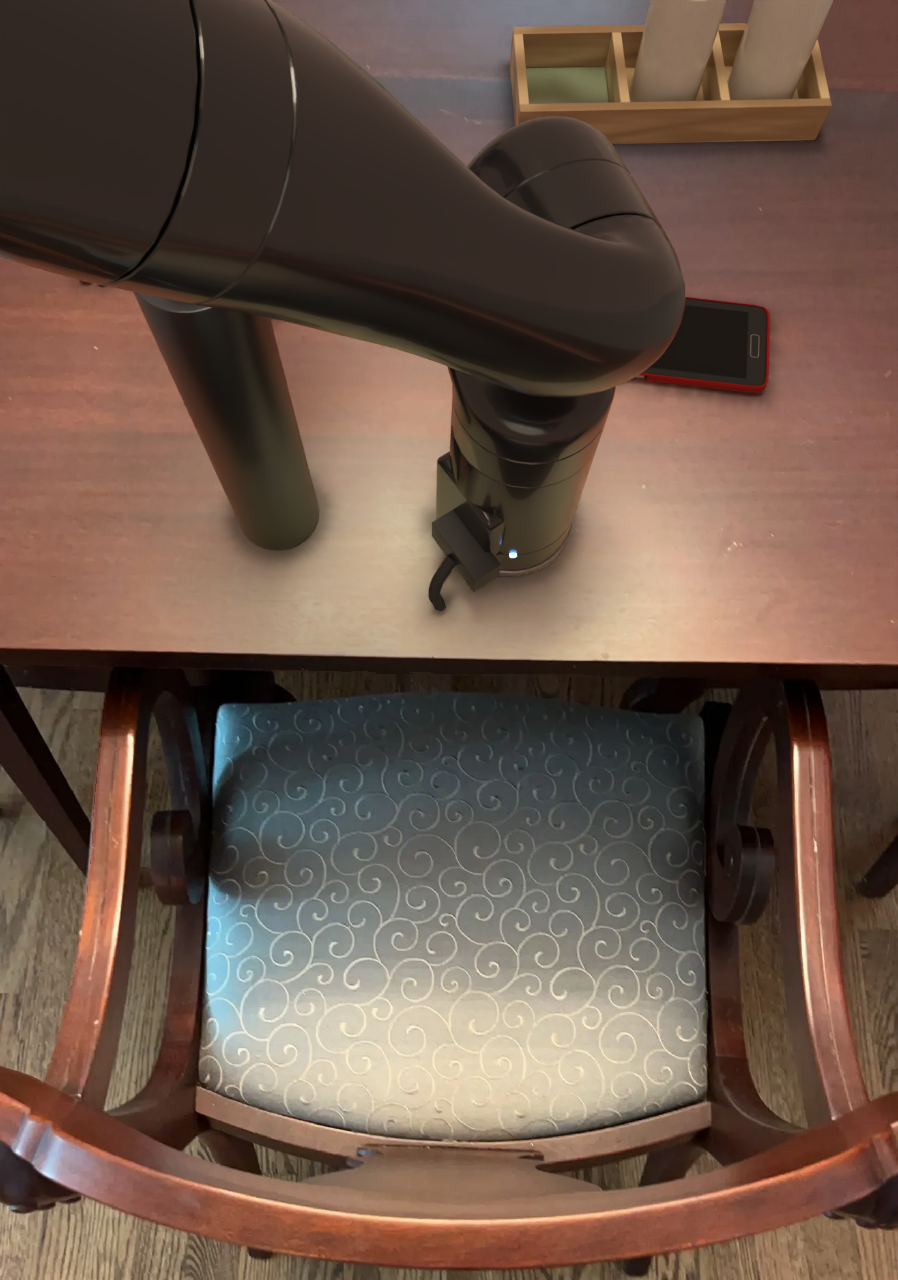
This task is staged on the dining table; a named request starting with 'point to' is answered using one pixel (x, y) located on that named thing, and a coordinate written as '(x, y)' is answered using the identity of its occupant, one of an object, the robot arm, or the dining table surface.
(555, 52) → the spice rack
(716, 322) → the cell phone
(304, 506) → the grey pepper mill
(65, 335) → the dining table surface
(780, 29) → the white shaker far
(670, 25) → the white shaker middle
